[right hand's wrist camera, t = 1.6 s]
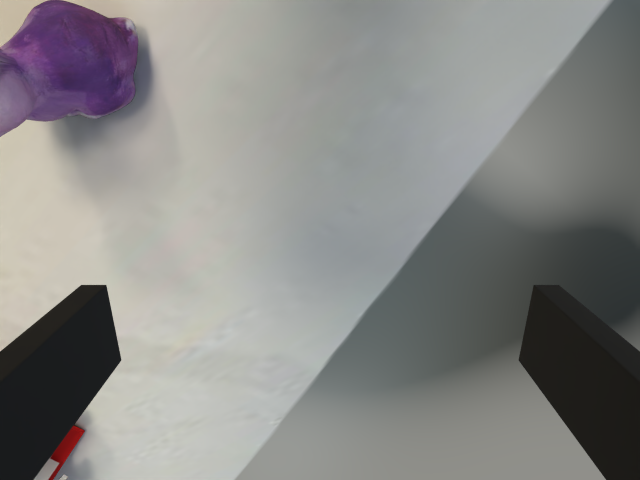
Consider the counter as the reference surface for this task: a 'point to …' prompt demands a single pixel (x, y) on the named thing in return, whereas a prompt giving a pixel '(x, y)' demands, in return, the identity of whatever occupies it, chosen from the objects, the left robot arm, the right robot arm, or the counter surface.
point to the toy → (60, 455)
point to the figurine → (66, 65)
